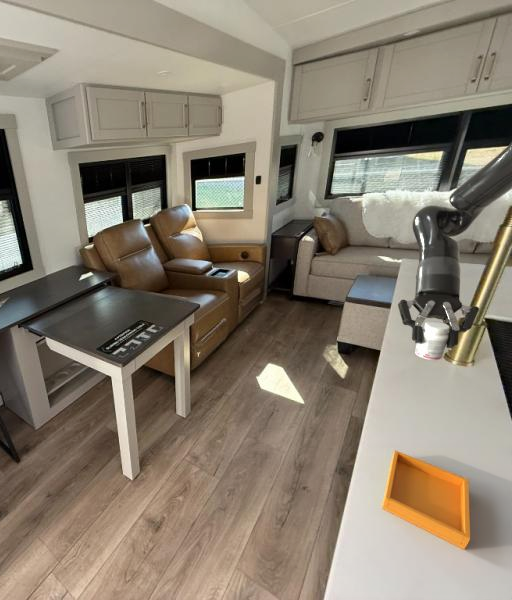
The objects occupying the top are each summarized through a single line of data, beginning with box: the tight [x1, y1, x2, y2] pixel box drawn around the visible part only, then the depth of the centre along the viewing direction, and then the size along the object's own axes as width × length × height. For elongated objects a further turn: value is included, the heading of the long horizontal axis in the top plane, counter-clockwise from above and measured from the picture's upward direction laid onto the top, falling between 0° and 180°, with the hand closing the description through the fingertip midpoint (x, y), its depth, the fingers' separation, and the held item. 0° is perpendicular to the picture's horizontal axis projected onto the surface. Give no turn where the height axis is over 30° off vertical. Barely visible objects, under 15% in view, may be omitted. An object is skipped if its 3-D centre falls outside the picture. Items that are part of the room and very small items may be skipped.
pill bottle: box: [414, 320, 449, 361], centre depth 75 cm, size 5×5×8 cm
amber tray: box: [381, 450, 471, 551], centre depth 57 cm, size 10×13×3 cm
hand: (434, 344), depth 74 cm, fingers closed on pill bottle, 4 cm apart
